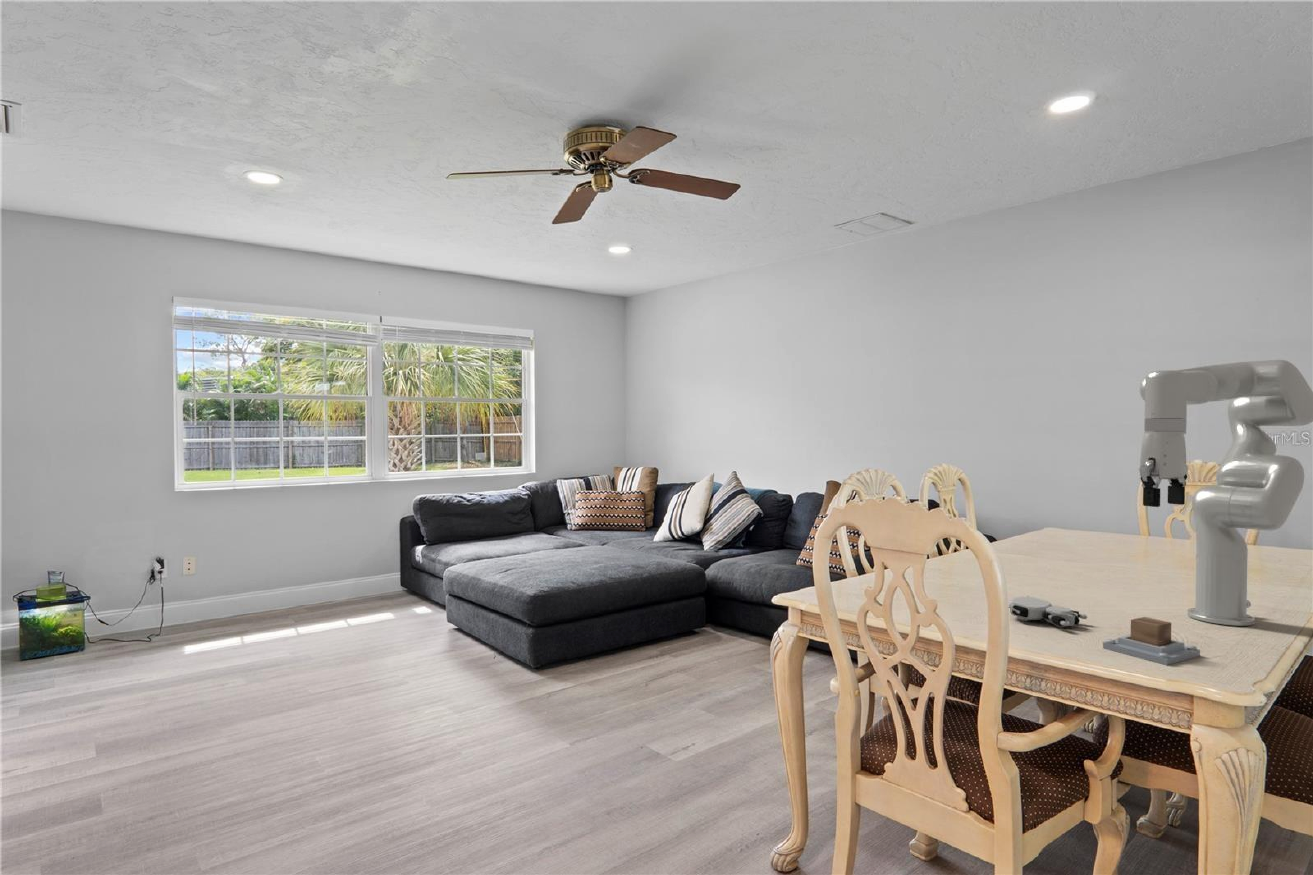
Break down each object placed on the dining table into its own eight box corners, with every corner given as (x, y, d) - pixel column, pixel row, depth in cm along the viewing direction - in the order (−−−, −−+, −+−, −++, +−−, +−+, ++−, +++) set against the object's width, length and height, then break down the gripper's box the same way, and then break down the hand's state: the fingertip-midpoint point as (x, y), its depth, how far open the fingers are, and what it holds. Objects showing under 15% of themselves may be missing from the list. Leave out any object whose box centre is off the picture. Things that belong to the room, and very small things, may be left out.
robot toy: (1089, 628, 166) (1023, 610, 178) (1091, 609, 166) (1025, 592, 177) (1066, 638, 158) (998, 618, 170) (1068, 618, 158) (1000, 599, 170)
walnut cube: (1144, 640, 149) (1144, 616, 149) (1170, 647, 145) (1171, 622, 145) (1130, 644, 147) (1130, 619, 147) (1157, 651, 142) (1157, 625, 142)
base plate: (1136, 639, 154) (1136, 628, 154) (1199, 655, 143) (1200, 643, 143) (1102, 647, 148) (1103, 636, 148) (1166, 665, 138) (1167, 652, 138)
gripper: (1167, 427, 165) (1166, 501, 165) (1124, 427, 157) (1123, 505, 157) (1205, 427, 158) (1204, 505, 159) (1161, 427, 150) (1160, 509, 151)
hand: (1163, 505), depth 158 cm, fingers open, 9 cm apart
